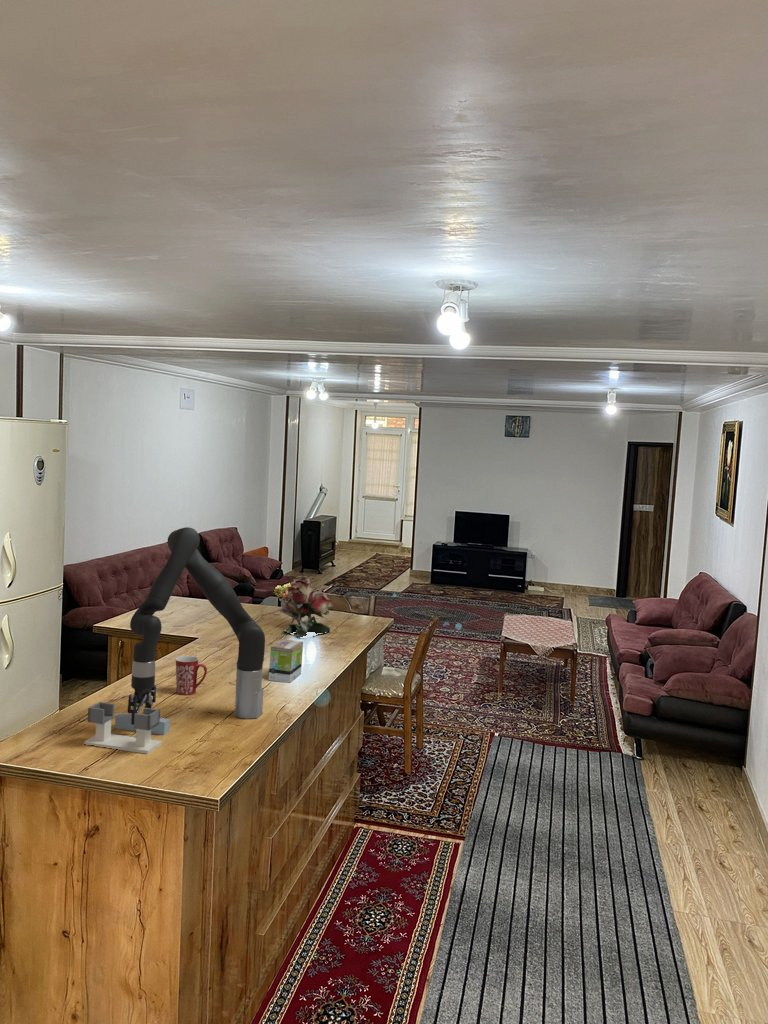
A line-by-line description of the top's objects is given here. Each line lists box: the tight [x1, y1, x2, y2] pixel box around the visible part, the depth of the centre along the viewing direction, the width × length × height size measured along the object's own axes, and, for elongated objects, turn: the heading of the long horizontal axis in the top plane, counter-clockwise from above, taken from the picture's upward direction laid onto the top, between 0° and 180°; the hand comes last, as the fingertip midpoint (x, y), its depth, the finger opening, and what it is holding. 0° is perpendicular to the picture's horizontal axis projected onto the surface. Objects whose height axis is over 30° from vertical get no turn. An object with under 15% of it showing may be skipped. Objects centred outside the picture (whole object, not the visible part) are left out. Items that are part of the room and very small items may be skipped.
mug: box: [174, 655, 208, 696], centre depth 311 cm, size 13×9×14 cm
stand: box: [83, 701, 162, 755], centre depth 254 cm, size 22×9×12 cm, turn 78°
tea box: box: [268, 639, 304, 683], centre depth 339 cm, size 15×10×15 cm
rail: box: [114, 712, 171, 736], centre depth 268 cm, size 18×4×4 cm, turn 78°
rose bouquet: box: [279, 575, 334, 638], centre depth 427 cm, size 26×29×30 cm
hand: (141, 720), depth 269 cm, fingers open, 8 cm apart
